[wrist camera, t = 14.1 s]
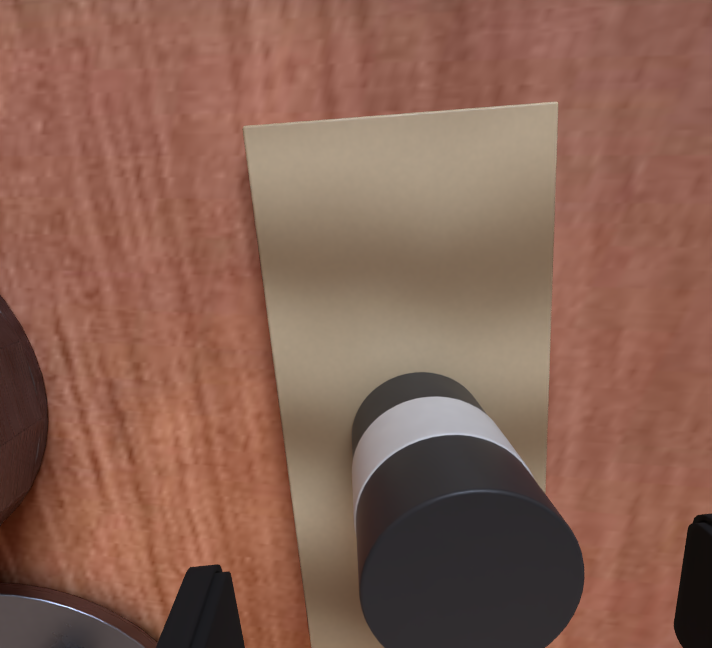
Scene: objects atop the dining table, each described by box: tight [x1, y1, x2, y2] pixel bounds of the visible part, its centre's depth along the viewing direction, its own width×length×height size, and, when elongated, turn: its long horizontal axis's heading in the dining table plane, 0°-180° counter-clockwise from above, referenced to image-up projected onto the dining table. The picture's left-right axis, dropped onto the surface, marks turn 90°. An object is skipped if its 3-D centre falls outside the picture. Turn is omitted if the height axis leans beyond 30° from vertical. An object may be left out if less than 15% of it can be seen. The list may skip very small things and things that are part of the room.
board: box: [243, 102, 558, 648], centre depth 17 cm, size 22×10×2 cm, turn 5°
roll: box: [352, 372, 584, 648], centre depth 13 cm, size 5×5×7 cm
